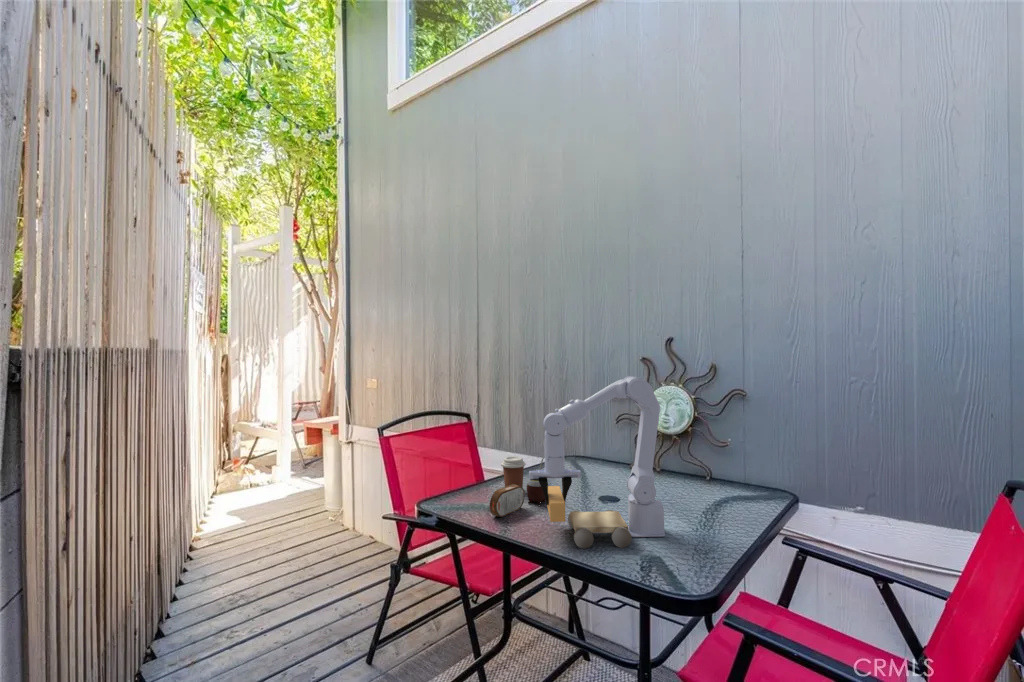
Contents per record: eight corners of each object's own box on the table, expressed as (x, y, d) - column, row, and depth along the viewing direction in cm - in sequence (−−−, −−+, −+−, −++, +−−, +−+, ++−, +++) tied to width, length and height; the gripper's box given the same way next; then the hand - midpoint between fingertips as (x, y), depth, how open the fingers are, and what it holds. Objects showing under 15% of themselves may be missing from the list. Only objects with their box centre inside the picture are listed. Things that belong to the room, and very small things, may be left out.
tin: (519, 506, 163) (518, 481, 163) (526, 508, 161) (526, 482, 161) (488, 519, 151) (488, 491, 151) (496, 521, 149) (496, 493, 149)
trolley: (618, 526, 143) (618, 509, 143) (631, 547, 128) (631, 528, 128) (567, 527, 143) (567, 510, 143) (574, 548, 128) (574, 529, 128)
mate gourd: (529, 507, 162) (529, 461, 162) (524, 500, 169) (523, 456, 170) (551, 505, 163) (550, 460, 163) (545, 498, 171) (544, 455, 171)
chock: (559, 502, 147) (559, 486, 147) (565, 521, 131) (565, 503, 131) (546, 502, 147) (546, 486, 147) (550, 521, 131) (550, 503, 131)
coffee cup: (499, 494, 176) (499, 461, 176) (503, 487, 185) (502, 455, 185) (524, 494, 175) (524, 461, 175) (527, 487, 184) (526, 455, 184)
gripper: (578, 452, 143) (579, 498, 143) (528, 453, 143) (529, 499, 143) (581, 457, 136) (582, 506, 136) (529, 458, 136) (530, 507, 136)
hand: (555, 503), depth 139 cm, fingers closed on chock, 4 cm apart
